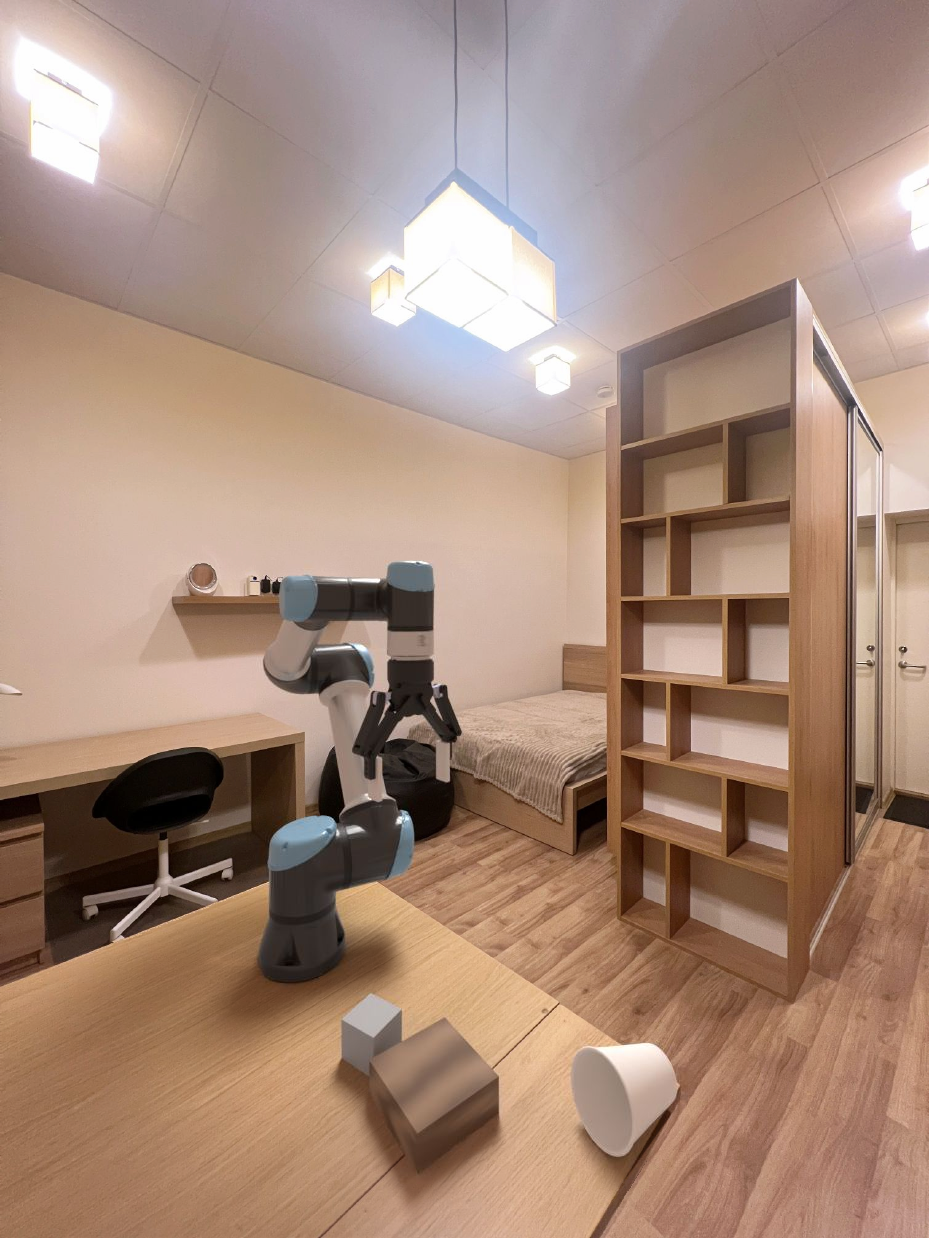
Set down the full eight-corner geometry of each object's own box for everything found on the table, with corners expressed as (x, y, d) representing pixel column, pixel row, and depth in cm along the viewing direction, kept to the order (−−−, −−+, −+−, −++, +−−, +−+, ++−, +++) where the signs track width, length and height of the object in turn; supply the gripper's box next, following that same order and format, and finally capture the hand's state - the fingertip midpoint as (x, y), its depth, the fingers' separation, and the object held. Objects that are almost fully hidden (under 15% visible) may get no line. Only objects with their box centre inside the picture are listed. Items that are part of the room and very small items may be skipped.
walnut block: (369, 1097, 67) (369, 1059, 67) (444, 1051, 74) (444, 1017, 74) (417, 1177, 58) (417, 1133, 58) (498, 1115, 65) (498, 1076, 65)
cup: (628, 1009, 72) (572, 1029, 66) (693, 1051, 64) (636, 1078, 58) (626, 1089, 70) (568, 1117, 65) (692, 1144, 62) (633, 1181, 56)
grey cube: (341, 1061, 72) (341, 1019, 72) (370, 1032, 78) (370, 992, 78) (373, 1082, 69) (373, 1037, 69) (401, 1050, 74) (401, 1008, 74)
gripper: (355, 663, 72) (355, 815, 72) (481, 655, 89) (482, 777, 89) (328, 660, 77) (329, 801, 77) (452, 652, 94) (453, 768, 94)
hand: (410, 789), depth 83 cm, fingers open, 13 cm apart
